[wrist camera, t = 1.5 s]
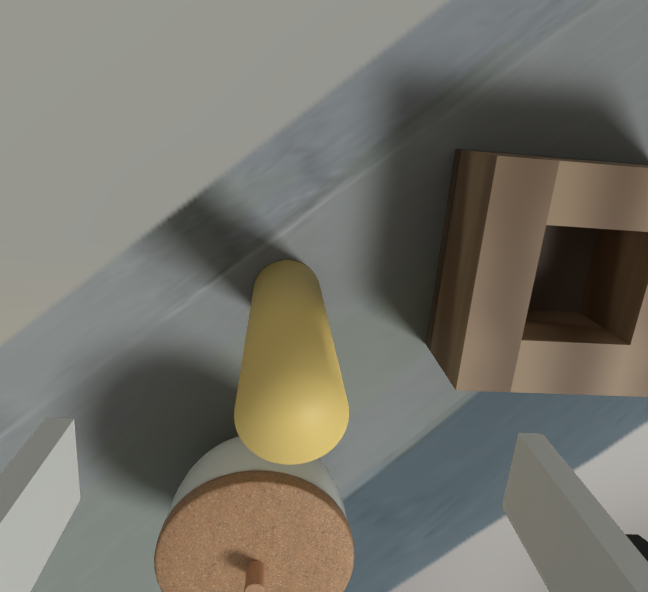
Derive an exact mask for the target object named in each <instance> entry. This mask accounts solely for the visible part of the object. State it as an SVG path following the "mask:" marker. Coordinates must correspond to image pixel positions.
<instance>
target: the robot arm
mask: <svg viewBox="0 0 648 592" xmlns="http://www.w3.org/2000/svg"><path fill="white" fill-rule="evenodd" d="M79 501H80V489H79V476H78V463H77V450H76V437H75V424H74V419H61V418H46V419H45V420H44V421H43V422H42V423H41V425H40V426H39V427H38V428H37V430H36V431H35V432H34V433H33V435H32V436H31V437H30V438H29V440H28V441H27V442H26V443H25V445H24V446H23V447H22V448H21V450H20V451H19V452H18V453H17V455H16V456H15V457H14V458H13V460H12V461H11V462H10V463H9V465H8V466H7V467H6V468H5V470H4V471H3V472H2V473H1V475H0V592H30V591H31V590H32V588H33V586H34V584H35V582H36V580H37V579H38V577H39V575H40V573H41V571H42V569H43V567H44V566H45V564H46V562H47V560H48V558H49V556H50V554H51V553H52V551H53V549H54V547H55V545H56V543H57V541H58V540H59V538H60V536H61V534H62V532H63V530H64V529H65V527H66V525H67V523H68V521H69V519H70V517H71V516H72V514H73V512H74V510H75V508H76V506H77V504H78V503H79ZM502 508H503V510H504V512H505V513H506V515H507V517H508V519H509V521H510V522H511V524H512V526H513V528H514V529H515V531H516V533H517V535H518V537H519V538H520V540H521V542H522V544H523V545H524V547H525V549H526V551H527V553H528V554H529V556H530V558H531V560H532V562H533V563H534V565H535V567H536V569H537V570H538V572H539V574H540V576H541V578H542V579H543V581H544V583H545V585H546V586H547V588H548V590H549V592H648V542H647V541H646V540H645V539H643V538H642V537H641V536H639V535H631V534H629V535H628V534H624V532H623V531H622V530H621V529H620V527H619V526H618V525H617V524H616V523H615V521H614V520H613V519H612V518H611V517H610V515H609V514H608V513H607V512H606V510H605V509H604V508H603V507H602V506H601V504H600V503H599V502H598V501H597V499H596V498H595V497H594V496H593V495H592V494H591V492H590V491H589V490H588V489H587V487H586V486H585V485H584V484H583V482H582V481H581V480H580V479H579V478H578V477H577V476H576V474H575V473H574V471H573V470H572V469H571V468H570V467H569V465H568V464H567V463H566V462H565V461H564V459H563V458H562V457H561V456H560V454H559V453H558V452H557V451H556V450H555V448H554V447H553V446H552V445H551V444H550V442H549V441H548V440H547V439H546V437H545V436H544V435H543V434H534V433H519V434H518V438H517V442H516V447H515V451H514V456H513V460H512V464H511V469H510V473H509V478H508V482H507V486H506V491H505V495H504V500H503V504H502Z"/></svg>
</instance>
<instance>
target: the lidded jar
mask: <svg viewBox="0 0 648 592" xmlns="http://www.w3.org/2000/svg"><path fill="white" fill-rule="evenodd" d="M154 563H155V573H156V577H157V581H158V584H159V586H160V588H161V590H162V592H343V591H344V590H345V588H346V586H347V584H348V582H349V580H350V577H351V574H352V570H353V565H354V544H353V538H352V534H351V531H350V527H349V524H348V521H347V517H346V512H345V508H344V505H343V501H342V498H341V495H340V492H339V490H338V487H337V485H336V483H335V481H334V479H333V477H332V476H331V474H330V472H329V470H328V469H327V468H326V466H325V465H324V464H323V462H322V461H321V460H320V459H319V458H318V459H315V460H313V461H310V462H306V463H302V464H293V465H286V464H278V463H273V462H270V461H267V460H265V459H263V458H261V457H259V456H257V455H256V454H254V453H253V452H252V451H250V450H249V449H248V448H247V447H246V446H245V444H244V443H243V442H242V440H241V439H240V437H239V436H238V437H235V438H232V439H230V440H227V441H225V442H222V443H221V444H219V445H217V446H216V447H214V448H212V449H211V450H210V451H209V452H207V453H206V454H205V455H204V456H203V457H202V458H200V459H199V460H198V461H197V462H196V464H195V465H194V466H193V467H192V468H191V469H190V471H189V472H188V474H187V475H186V477H185V478H184V480H183V482H182V483H181V485H180V486H179V488H178V490H177V492H176V494H175V496H174V499H173V502H172V504H171V507H170V509H169V512H168V515H167V518H166V520H165V522H164V524H163V527H162V529H161V532H160V534H159V537H158V541H157V545H156V550H155V556H154Z"/></svg>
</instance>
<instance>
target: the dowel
mask: <svg viewBox="0 0 648 592" xmlns="http://www.w3.org/2000/svg"><path fill="white" fill-rule="evenodd" d="M348 420H349V406H348V401H347V397H346V393H345V389H344V384H343V380H342V376H341V372H340V368H339V364H338V360H337V355H336V351H335V347H334V343H333V339H332V335H331V331H330V326H329V322H328V318H327V314H326V310H325V306H324V302H323V298H322V293H321V289H320V285H319V281H318V279H317V277H316V275H315V274H314V272H313V271H312V270H311V269H310V268H309V267H307V266H306V265H304V264H302V263H300V262H298V261H294V260H280V261H276V262H274V263H271V264H270V265H268V266H266V267H265V268H264V269H263V270H262V271H261V272H260V273H259V275H258V277H257V278H256V281H255V284H254V289H253V295H252V301H251V308H250V314H249V320H248V327H247V333H246V340H245V346H244V352H243V359H242V365H241V371H240V378H239V384H238V390H237V397H236V403H235V410H234V422H235V427H236V430H237V433H238V435H239V437H240V439H241V440H242V442H243V443H244V444H245V446H246V447H247V448H248V449H249V450H250V451H252V452H253V453H254V454H256V455H257V456H259V457H261V458H263V459H265V460H267V461H270V462H273V463H278V464H286V465H293V464H302V463H306V462H310V461H313V460H315V459H318V458H320V457H321V456H323V455H325V454H326V453H328V452H329V451H330V450H331V449H333V448H334V447H335V446H336V444H337V443H338V442H339V441H340V439H341V438H342V436H343V435H344V433H345V430H346V428H347V425H348Z"/></svg>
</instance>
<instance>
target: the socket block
mask: <svg viewBox="0 0 648 592" xmlns="http://www.w3.org/2000/svg"><path fill="white" fill-rule="evenodd" d="M426 345H427V347H428V348H429V350H430V351H431V353H432V354H433V356H434V357H435V359H436V361H437V362H438V364H439V365H440V367H441V368H442V370H443V371H444V373H445V374H446V376H447V377H448V379H449V380H450V382H451V383H452V385H453V387H454V388H455V390H464V391H493V392H522V393H551V394H580V395H609V396H638V397H648V165H643V164H631V163H619V162H607V161H594V160H582V159H570V158H558V157H546V156H534V155H521V154H509V153H497V152H485V151H473V150H461V149H456V151H455V158H454V164H453V171H452V177H451V184H450V190H449V197H448V203H447V210H446V217H445V223H444V230H443V236H442V243H441V249H440V256H439V262H438V269H437V275H436V282H435V289H434V295H433V302H432V308H431V315H430V321H429V328H428V334H427V341H426Z"/></svg>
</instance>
